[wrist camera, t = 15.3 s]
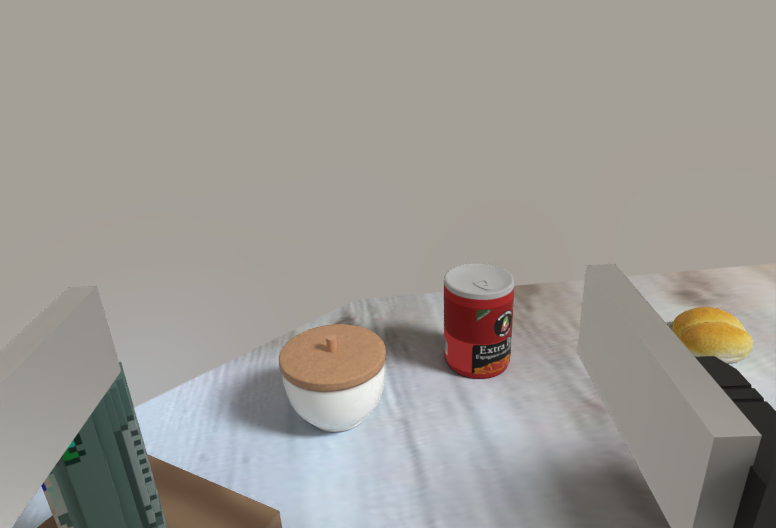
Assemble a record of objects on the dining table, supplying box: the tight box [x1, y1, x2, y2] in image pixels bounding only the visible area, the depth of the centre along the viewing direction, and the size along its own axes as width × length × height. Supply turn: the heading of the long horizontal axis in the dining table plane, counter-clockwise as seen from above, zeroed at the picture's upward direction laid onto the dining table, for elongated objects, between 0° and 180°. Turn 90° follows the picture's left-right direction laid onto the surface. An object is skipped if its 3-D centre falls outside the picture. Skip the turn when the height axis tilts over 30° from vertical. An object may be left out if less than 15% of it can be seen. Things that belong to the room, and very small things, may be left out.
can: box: [41, 362, 168, 528], centre depth 39 cm, size 6×6×15 cm
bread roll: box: [672, 307, 753, 363], centre depth 70 cm, size 8×9×4 cm
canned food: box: [444, 264, 514, 379], centre depth 67 cm, size 8×8×11 cm
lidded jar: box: [279, 324, 386, 432], centre depth 60 cm, size 11×11×9 cm
